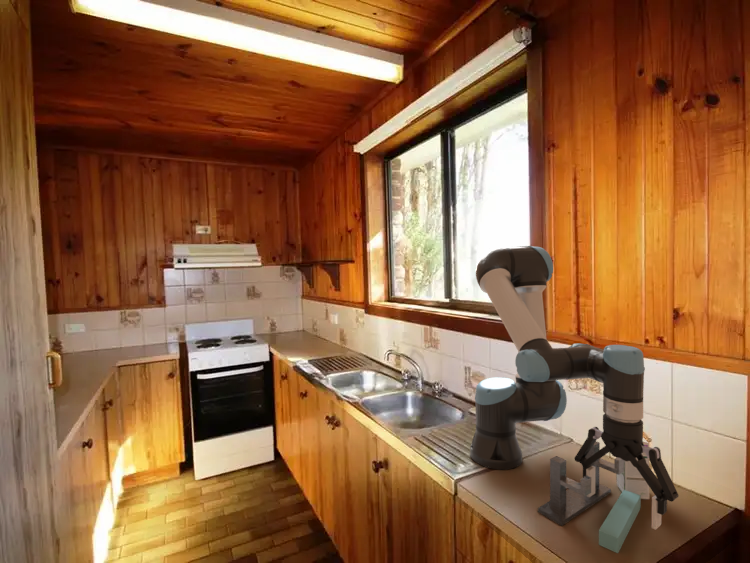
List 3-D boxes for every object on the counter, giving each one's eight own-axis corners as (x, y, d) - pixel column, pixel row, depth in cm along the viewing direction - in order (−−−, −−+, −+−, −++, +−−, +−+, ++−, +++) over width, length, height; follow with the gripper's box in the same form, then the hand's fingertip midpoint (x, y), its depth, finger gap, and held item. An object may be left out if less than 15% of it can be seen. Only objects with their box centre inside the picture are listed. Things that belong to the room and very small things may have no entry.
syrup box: (650, 500, 96) (651, 442, 96) (624, 497, 98) (624, 440, 97) (639, 487, 102) (640, 432, 101) (614, 484, 103) (615, 431, 103)
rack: (537, 512, 93) (537, 458, 92) (587, 481, 105) (587, 434, 104) (579, 536, 84) (579, 477, 84) (627, 500, 97) (628, 448, 96)
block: (598, 546, 82) (598, 530, 82) (623, 503, 96) (623, 489, 96) (617, 554, 79) (618, 538, 79) (640, 509, 93) (640, 495, 93)
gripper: (559, 403, 95) (559, 488, 96) (684, 442, 74) (681, 550, 75) (576, 397, 99) (576, 478, 100) (699, 432, 78) (696, 534, 79)
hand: (621, 509), depth 87 cm, fingers open, 13 cm apart
